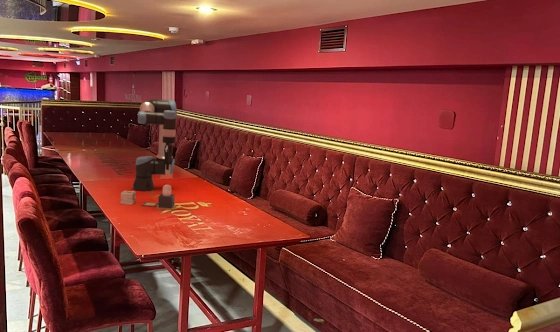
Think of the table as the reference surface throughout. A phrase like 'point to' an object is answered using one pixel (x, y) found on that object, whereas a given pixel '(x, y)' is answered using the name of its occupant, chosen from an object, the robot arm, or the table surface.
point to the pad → (150, 204)
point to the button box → (166, 202)
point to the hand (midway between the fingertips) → (167, 174)
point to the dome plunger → (167, 190)
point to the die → (128, 197)
